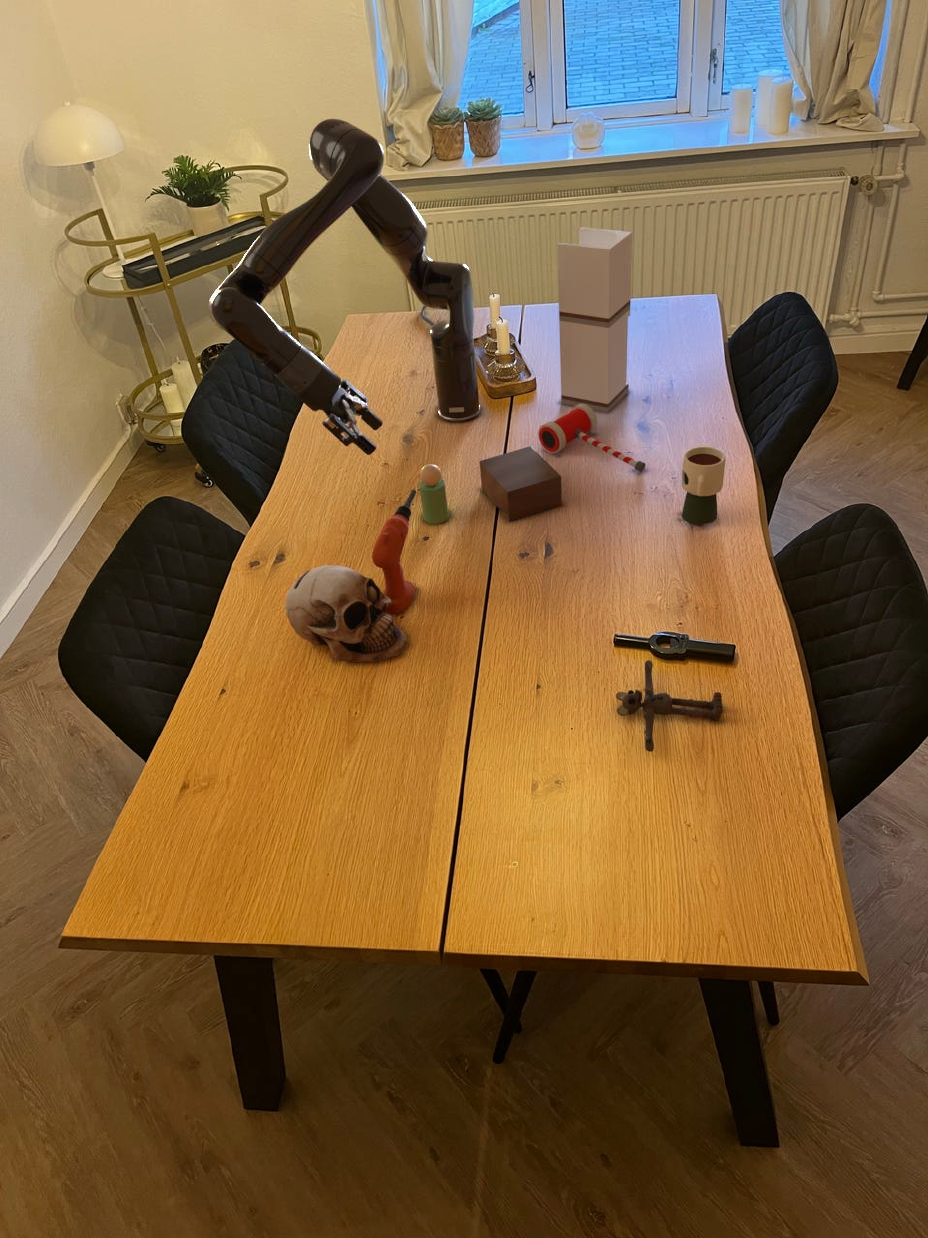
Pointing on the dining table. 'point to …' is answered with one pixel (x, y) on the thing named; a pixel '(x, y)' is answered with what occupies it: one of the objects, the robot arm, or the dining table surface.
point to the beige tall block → (594, 317)
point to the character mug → (702, 483)
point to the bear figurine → (664, 705)
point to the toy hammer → (578, 434)
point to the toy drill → (395, 557)
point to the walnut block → (521, 483)
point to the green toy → (433, 495)
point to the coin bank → (344, 614)
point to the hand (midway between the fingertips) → (376, 438)
